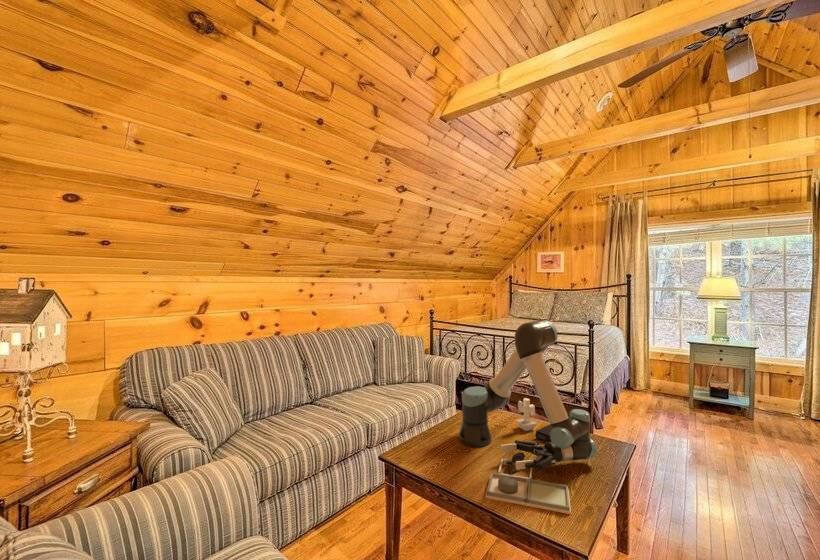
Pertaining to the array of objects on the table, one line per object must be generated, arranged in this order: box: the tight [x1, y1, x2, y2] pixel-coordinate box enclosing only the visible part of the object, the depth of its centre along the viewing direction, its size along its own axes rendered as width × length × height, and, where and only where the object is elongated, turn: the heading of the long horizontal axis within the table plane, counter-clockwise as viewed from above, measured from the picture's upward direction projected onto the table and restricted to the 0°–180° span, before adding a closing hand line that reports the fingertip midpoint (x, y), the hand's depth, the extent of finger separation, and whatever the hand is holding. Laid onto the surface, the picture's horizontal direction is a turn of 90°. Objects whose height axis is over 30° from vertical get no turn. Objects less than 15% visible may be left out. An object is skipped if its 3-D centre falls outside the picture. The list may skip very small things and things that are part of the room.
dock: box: [485, 472, 572, 515], centre depth 135 cm, size 27×13×3 cm, turn 70°
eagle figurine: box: [502, 451, 526, 475], centre depth 151 cm, size 8×7×9 cm
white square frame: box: [497, 458, 533, 482], centre depth 150 cm, size 12×12×1 cm
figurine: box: [515, 397, 538, 432], centre depth 189 cm, size 7×9×15 cm
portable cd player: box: [535, 423, 552, 443], centre depth 177 cm, size 16×17×4 cm
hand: (508, 456), depth 150 cm, fingers open, 13 cm apart
